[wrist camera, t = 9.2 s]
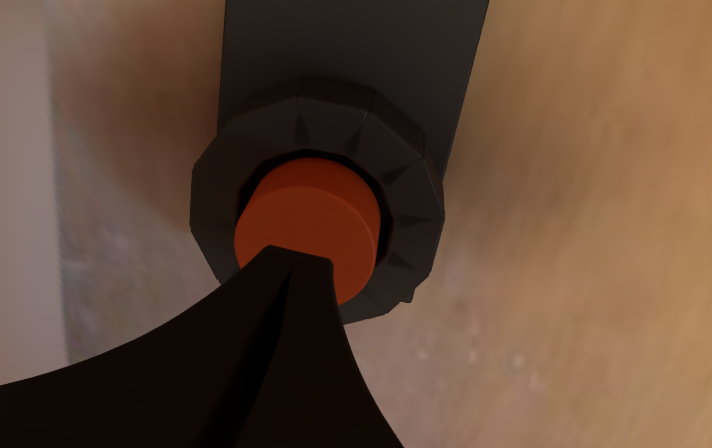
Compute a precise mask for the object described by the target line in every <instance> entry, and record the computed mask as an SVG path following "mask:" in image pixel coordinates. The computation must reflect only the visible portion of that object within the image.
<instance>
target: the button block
mask: <svg viewBox="0 0 712 448" xmlns="http://www.w3.org/2000/svg"><path fill="white" fill-rule="evenodd" d="M488 4H489V0H226V3H225V18H224V32H223V47H222V62H221V77H220V91H219V106H218V121H217V136H216V137H215V138H214V140H213V141H212V142H211V144H210V145H209V146H208V147H207V149H206V150H205V151H204V153H203V154H202V155H201V157H200V158H199V159H198V160H197V162H196V163H195V164H194V168H193V170H192V180H191V201H190V221H189V225H190V227H191V232H192V234H193V236H194V238H195V240H196V241H197V243H198V245H199V247H200V249H201V251H202V253H203V254H204V256H205V258H206V260H207V262H208V264H209V266H210V267H211V269H212V271H213V273H214V275H215V277H216V279H218V280H219V283H221V284H223V283H224V282H226V281H227V280H228V279H229V278H231V277H232V276H233V275H234V274H236V273H237V272H238V271H239V270H240V269H241V268H240V266H239V263H238V261H237V257H236V254H235V247H234V236H235V230H236V226H237V223H238V221H239V219H240V217H241V215H242V213H243V211H244V209H245V208H246V206H247V204H248V202H249V201H250V199H251V197H252V195H253V193H254V192H255V190H256V188H257V186H258V184H259V183H260V182H261V180H262V179H263V178H264V177H265V176H266V175H267V174H268V173H269V172H270V171H271V170H273V169H274V168H275V167H277V166H279V165H281V164H283V163H285V162H288V161H290V160H294V159H299V158H322V159H327V160H331V161H335V162H337V163H340V164H342V165H344V166H346V167H348V168H349V169H351V170H352V171H354V172H355V173H357V174H358V175H359V176H360V177H361V178H362V179H363V180H364V181H365V182H366V183H367V185H368V186H369V187H370V189H371V190H372V192H373V194H374V196H375V198H376V200H377V203H378V206H379V210H380V231H379V238H378V246H377V253H376V261H375V266H374V269H373V272H372V275H371V277H370V279H369V280H368V282H367V283H366V285H365V286H364V287H363V288H362V290H361V291H360V292H359V293H357V294H356V295H355V296H354V297H352V298H351V299H349V300H348V301H346V302H344V303H342V304H340V305H338V308H339V311H340V315H341V319H342V323H343V325H345V324H349V323H353V322H357V321H361V320H365V319H369V318H374V317H378V316H382V315H384V314H386V313H389V312H390V311H391V310H392V309H393V308H394V307H395V306H396V305H398V304H399V303H400V302H405V303H411V301H412V299H413V295H414V291H415V288H416V287H417V286H418V285H420V284H421V283H422V282H423V281H424V280H425V279H426V278H427V277H428V276H429V273H430V272H431V270H432V266H433V262H434V258H435V255H436V251H437V247H438V244H439V240H440V236H441V232H442V229H443V225H444V221H445V210H444V193H443V184H442V182H443V179H444V175H445V171H446V167H447V163H448V159H449V155H450V151H451V148H452V144H453V140H454V136H455V132H456V128H457V124H458V120H459V117H460V113H461V109H462V105H463V101H464V97H465V93H466V89H467V86H468V82H469V78H470V74H471V70H472V66H473V62H474V58H475V55H476V51H477V47H478V43H479V39H480V35H481V31H482V27H483V24H484V20H485V16H486V12H487V8H488Z"/></svg>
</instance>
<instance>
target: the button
mask: <svg viewBox="0 0 712 448" xmlns="http://www.w3.org/2000/svg"><path fill="white" fill-rule="evenodd" d="M379 231H380V210H379V206H378V203H377V200H376V198H375V196H374V194H373V192H372V190H371V189H370V187H369V186H368V185H367V183H366V182H365V181H364V180H363V179H362V178H361V177H360V176H359V175H358V174H357V173H355V172H354V171H352V170H351V169H349V168H348V167H346V166H344V165H342V164H340V163H337V162H335V161H331V160H327V159H322V158H299V159H294V160H290V161H288V162H285V163H283V164H281V165H279V166H277V167H275V168H274V169H273V170H271V171H270V172H269V173H268V174H267V175H266V176H265V177H264V178H263V179H262V180H261V182H260V183H259V184H258V186H257V188H256V190H255V192H254V193H253V195H252V197H251V199H250V201H249V202H248V204H247V206H246V208H245V209H244V211H243V213H242V215H241V217H240V219H239V221H238V223H237V226H236V230H235V236H234V247H235V254H236V257H237V261H238V263H239V266H240V268H243V267H244V266H245V265H246V264H247V263H248V262H249V261H250V260H251V259H252V258H254V257H255V256H256V255H257V254H258V253H259V252H260V251H261V250H262V249H263V248H264V247H266V246H268V245H274V246H278V247H282V248H286V249H291V250H295V251H299V252H303V253H308V254H312V255H316V256H320V257H325V258H329V259H330V260H331V261H332V263H333V264H334V270H333V271H334V286H335V292H336V298H337V303H338V305H340V304H342V303H344V302H346V301H348V300H349V299H351V298H352V297H354V296H355V295H356V294H357V293H359V292H360V291H361V290H362V288H363V287H364V286H365V285H366V283H367V282H368V280H369V279H370V277H371V275H372V272H373V269H374V266H375V261H376V253H377V246H378V238H379Z"/></svg>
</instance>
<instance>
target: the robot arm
mask: <svg viewBox="0 0 712 448" xmlns="http://www.w3.org/2000/svg"><path fill="white" fill-rule="evenodd" d="M333 270H334V264H333V263H332V261H331V260H330V259H329V258H325V257H320V256H316V255H312V254H308V253H303V252H299V251H295V250H291V249H286V248H282V247H278V246H274V245H268V246H266V247H264V248H263V249H262V250H261V251H260V252H259V253H258V254H257V255H256V256H255V257H254V258H252V259H251V260H250V261H249V262H248V263H247V264H246V265H245V266H244V267H243V268H241V269H240V270H239V271H238V272H237V273H236V274H234V275H233V276H232V277H231V278H229V279H228V280H227V281H226V282H224V283H223V284H222V285H221V286H219V287H218V288H217V289H215V290H214V291H213V292H212V293H210V294H209V295H207V296H206V297H205V298H203V299H202V300H200V301H199V302H197V303H196V304H194V305H193V306H191V307H190V308H188V309H187V310H185V311H184V312H183V313H181V314H179V315H178V316H176V317H174V318H173V319H171V320H170V321H168V322H166V323H164V324H163V325H161V326H159V327H157V328H156V329H154V330H152V331H150V332H148V333H146V334H144V335H143V336H141V337H139V338H136V339H134V340H132V341H130V342H128V343H125V344H123V345H121V346H118V347H116V348H114V349H112V350H109V351H107V352H105V353H102V354H100V355H98V356H95V357H93V358H90V359H87V360H84V361H81V362H79V363H76V364H73V365H70V366H67V367H64V368H61V369H58V370H55V371H52V372H49V373H45V374H42V375H39V376H35V377H32V378H28V379H24V380H20V381H16V382H12V383H8V384H4V385H0V448H404V447H403V445H402V444H401V442H400V441H399V439H398V438H397V436H396V435H395V433H394V431H393V430H392V428H391V427H390V425H389V424H388V422H387V421H386V419H385V418H384V416H383V415H382V413H381V411H380V410H379V408H378V406H377V404H376V402H375V400H374V399H373V397H372V395H371V393H370V391H369V389H368V387H367V385H366V383H365V381H364V379H363V377H362V375H361V372H360V370H359V368H358V366H357V363H356V361H355V358H354V356H353V353H352V350H351V347H350V345H349V342H348V339H347V336H346V333H345V330H344V326H343V323H342V319H341V315H340V311H339V308H338V303H337V298H336V292H335V286H334V271H333Z"/></svg>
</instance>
